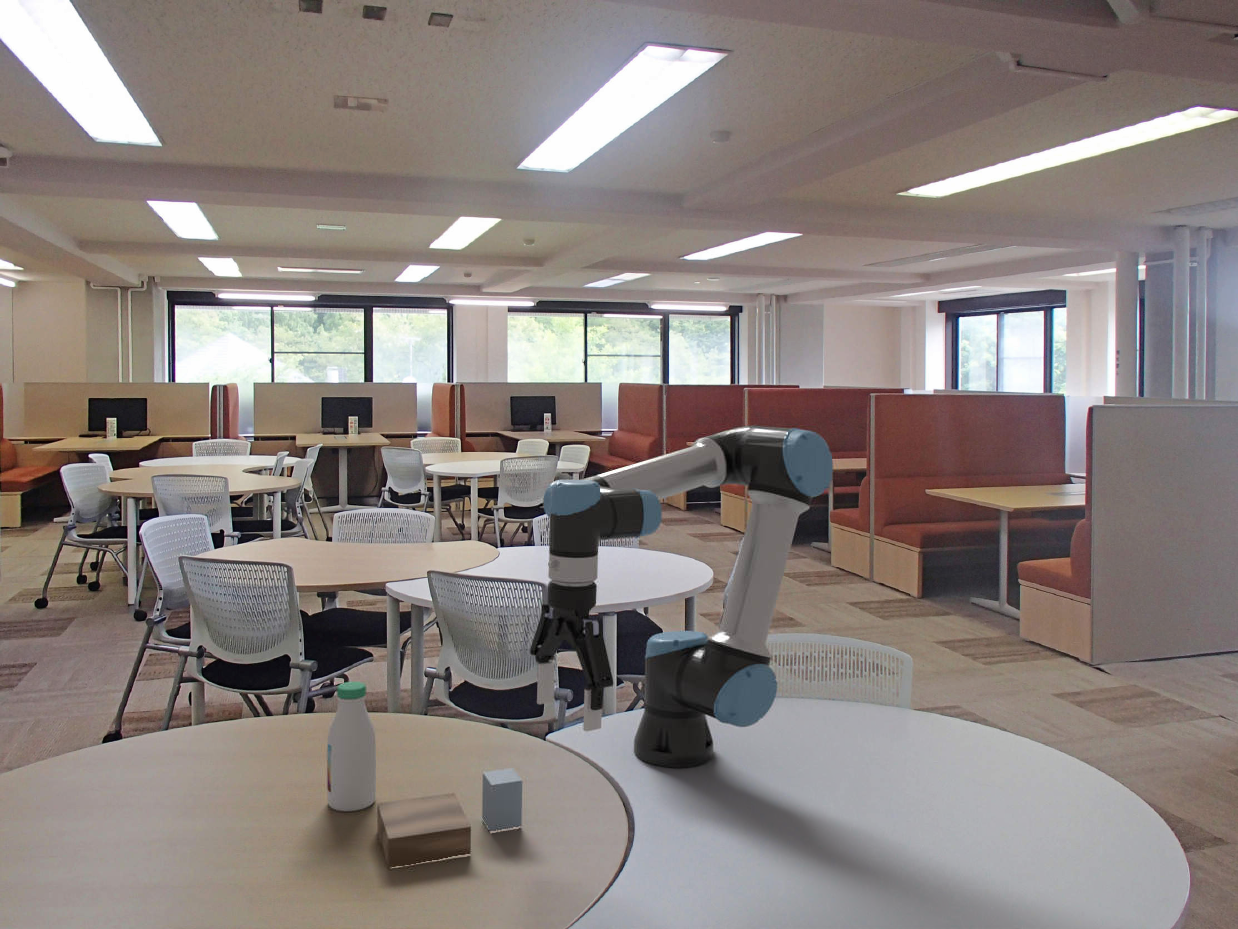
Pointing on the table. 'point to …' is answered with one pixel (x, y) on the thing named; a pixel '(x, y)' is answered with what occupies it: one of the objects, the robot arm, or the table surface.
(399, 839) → the walnut box
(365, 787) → the milk bottle
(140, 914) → the table surface
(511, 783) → the block
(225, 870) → the table surface
